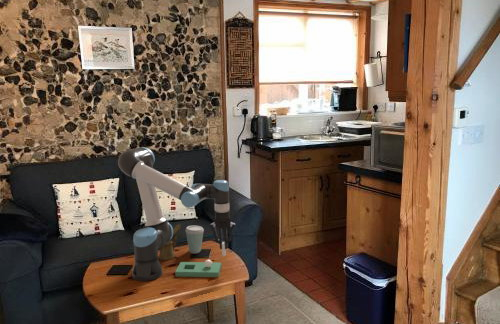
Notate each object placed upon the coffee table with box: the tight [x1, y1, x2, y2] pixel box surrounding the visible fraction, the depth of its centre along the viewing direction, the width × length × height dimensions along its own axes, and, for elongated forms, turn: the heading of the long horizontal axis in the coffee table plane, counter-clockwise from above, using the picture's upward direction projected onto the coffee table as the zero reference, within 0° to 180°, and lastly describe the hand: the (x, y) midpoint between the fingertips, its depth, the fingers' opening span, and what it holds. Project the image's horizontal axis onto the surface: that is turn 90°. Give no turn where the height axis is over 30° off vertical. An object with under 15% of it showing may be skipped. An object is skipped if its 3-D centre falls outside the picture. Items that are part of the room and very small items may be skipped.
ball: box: [204, 259, 213, 268], centre depth 213 cm, size 4×4×4 cm
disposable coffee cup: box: [185, 225, 205, 254], centre depth 239 cm, size 11×11×15 cm
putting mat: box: [174, 261, 222, 278], centre depth 214 cm, size 22×12×2 cm, turn 86°
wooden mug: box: [158, 223, 181, 261], centre depth 233 cm, size 9×14×18 cm, turn 123°
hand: (224, 254), depth 212 cm, fingers closed
